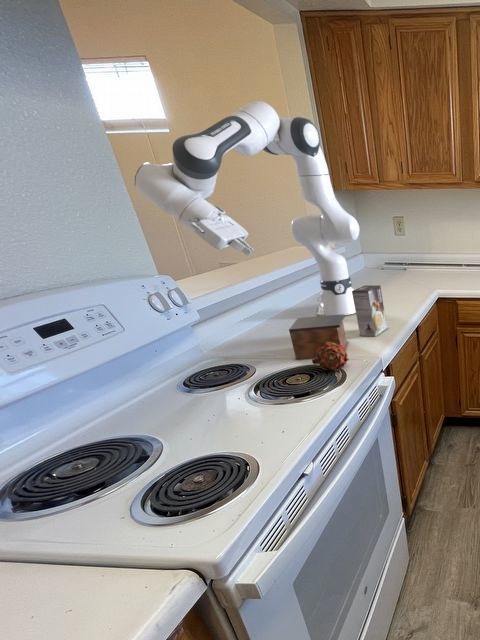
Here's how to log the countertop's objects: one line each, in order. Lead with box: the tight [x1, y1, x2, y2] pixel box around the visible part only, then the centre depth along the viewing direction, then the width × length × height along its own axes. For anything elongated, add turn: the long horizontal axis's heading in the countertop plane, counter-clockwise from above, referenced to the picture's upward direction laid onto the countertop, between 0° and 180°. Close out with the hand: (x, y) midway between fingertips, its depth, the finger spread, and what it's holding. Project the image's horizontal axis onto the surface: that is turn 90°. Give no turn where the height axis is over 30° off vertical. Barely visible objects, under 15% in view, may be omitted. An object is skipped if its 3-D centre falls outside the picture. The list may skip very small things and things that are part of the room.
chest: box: [289, 320, 348, 360], centre depth 133 cm, size 14×13×9 cm
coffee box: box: [352, 284, 388, 337], centre depth 147 cm, size 9×6×16 cm
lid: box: [288, 314, 345, 333], centre depth 131 cm, size 14×13×1 cm
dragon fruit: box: [311, 342, 350, 372], centre depth 118 cm, size 8×8×12 cm
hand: (251, 252), depth 119 cm, fingers closed
